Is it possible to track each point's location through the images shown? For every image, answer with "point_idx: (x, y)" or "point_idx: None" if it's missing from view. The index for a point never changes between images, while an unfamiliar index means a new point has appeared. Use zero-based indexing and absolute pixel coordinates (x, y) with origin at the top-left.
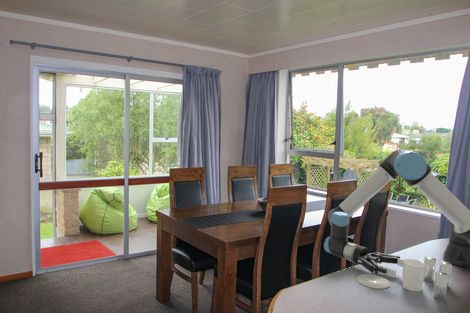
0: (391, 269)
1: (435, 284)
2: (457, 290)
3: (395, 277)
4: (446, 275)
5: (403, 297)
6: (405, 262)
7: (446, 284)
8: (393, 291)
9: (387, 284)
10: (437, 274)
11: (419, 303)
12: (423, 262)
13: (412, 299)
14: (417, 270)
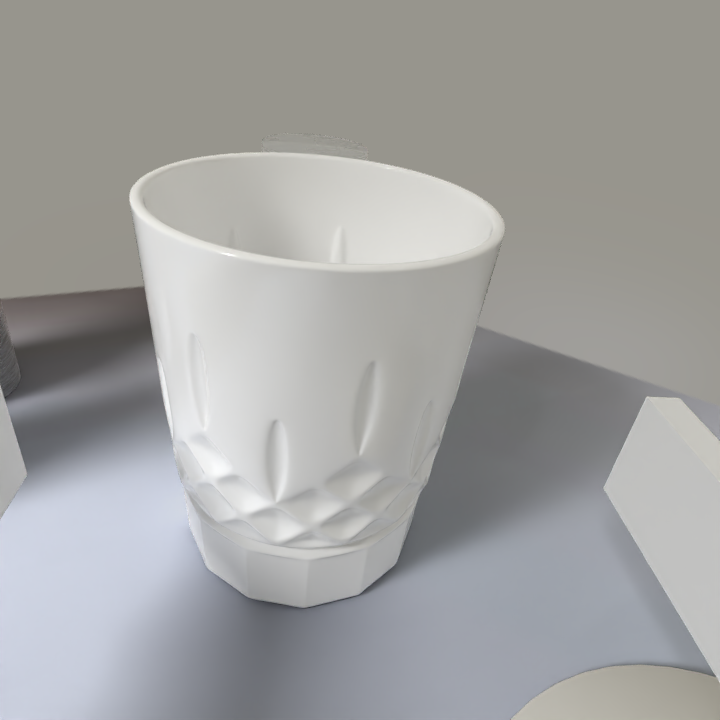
0: (717, 447)
1: None
2: (21, 321)
3: (608, 486)
4: (316, 135)
5: (594, 468)
6: (301, 324)
7: None
8: (612, 577)
9: (598, 707)
10: (367, 153)
11: (534, 381)
12: (187, 163)
13: (537, 422)
14: (417, 232)
